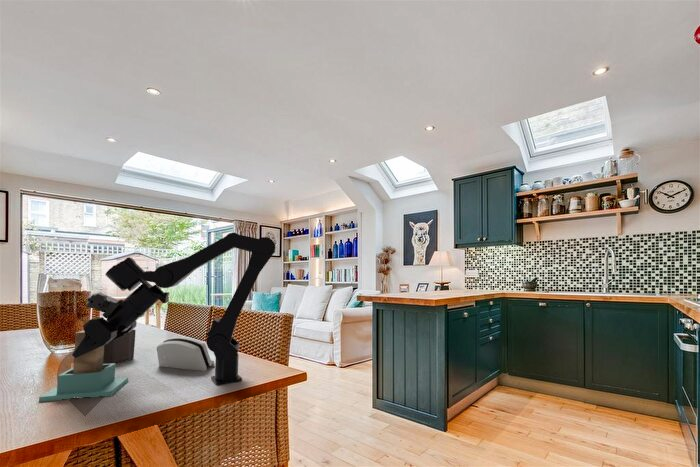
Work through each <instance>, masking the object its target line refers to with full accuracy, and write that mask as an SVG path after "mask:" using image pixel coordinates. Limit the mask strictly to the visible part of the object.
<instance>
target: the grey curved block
mask: <svg viewBox="0 0 700 467" xmlns="http://www.w3.org/2000/svg"><path fill="white" fill-rule="evenodd" d="M156 353H157V360H158V361H157V362H158V367H163V368H164V367H165V368H173V369H182V370H192V371H201V372H202V371H203V372H204V371H207V370H208V367H211V368H214V367H215V361H214V360H212V359H211V357H210V355H209V351H208V347H207V344H206V343H205V342H203V341H201V340H198V339H196V338H192V337H187V336H175V337H170V338H167V339H165V340H164V341H163V342H161V343H159V344H158V345H157V347H156Z"/></svg>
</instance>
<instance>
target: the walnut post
mask: <svg viewBox="0 0 700 467" xmlns="http://www.w3.org/2000/svg"><path fill="white" fill-rule="evenodd" d="M84 337H85V331H84V330H83V329H82V330H81V331H77V332H75V338H74V341H75V342H74V351H75V350H76V348H77V347H78V345H79V344H80V343H81V341H82V340H83V338H84ZM74 351H73V352H74ZM103 357H104V345H103V346H101V347H99V348H97V349H95V350H92V351H90V352H88V353H86V354H83V355H81V356H79V357H77V358H75V357H73V365H72V366H73V367H72V368H73V374H77V373H92V372H100V371H101V370H103Z"/></svg>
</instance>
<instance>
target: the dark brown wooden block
mask: <svg viewBox="0 0 700 467" xmlns="http://www.w3.org/2000/svg"><path fill="white" fill-rule="evenodd" d="M127 330H128V329H127ZM127 330H126V331H127ZM135 342H136V329H133V330H132V331H131V332H129V333H127V334H125V335H123V336H121V337H119V338H117V339H115V340H112V341H110V342H109V343H107V344H105V345H104V357H103V364H112V363H116V364H120V363H121V364H122V363H125V362H128V361H131V360H133V359H134V357H135V346H136V345H135V344H136V343H135ZM116 364H115V365H116Z"/></svg>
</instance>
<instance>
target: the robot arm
mask: <svg viewBox="0 0 700 467" xmlns="http://www.w3.org/2000/svg"><path fill="white" fill-rule="evenodd" d="M233 249H239V250H242V251H245V252H249V253H251V255H250V257H249V261H248V265H247V267H246V269H245V271H244V274H243V276H242V278H241V280H240V281H239V284H238V286H237V287H236V290H235V291H234V294H233V296H232V298H231V300H230V302H229V304H228V306H227V308H226V310H225V312H224V314H223V315H222V316H221V318H219V317H215V318H214V319H213V320H212V324H211V326H210V329H209V330H208V331H207V332H206V334H205V336H207V337H206V343H205V344H206V347H207V349H209V350H210V351H211V352H213V354H214V358H215V361H214V364H215V369H214V375H211V376H210V379H211V380H212V381H213V383H214V384H215V385H222V384H228V383H234V382H239V381H243V378H242V377H241V376H240V375H239V354H238V353H239V350H240V342H238V341H237V340H236V339H235V338H234V337H233V335H234V332H235V327H236V325H237V321H238V318H239V316H240V313H241V312H242V310H243V307H244V306H245V304H246V301H247V300H248V297H249V295H250V293H251V291H252V289H253V287H254V286H255V283H256V281H257V279H258V276H259V275H260V273H261V272H262V270H263V268H265V266H266V265H267V263H268V262H269V261H270V259H271V258H272V257H273V255H274V254H275V252H276V244H275V241H273V239H272V238H270V237H266V236H262V237H259V238H256V237H253V236H247V235H243V234H239V233H237V232H229V233H228V234H226V235H225V236H224V237H222V238H220V239H218V240H217V241H215V242H213V243H210V244H209V245H207V246H206V247H204V248H202V249H200V250H198V251H196V252H194V253H193V254H191V255H188V257H185V258H182V259H178V260H175V261H172V262H169V263H166V264H163V265H161V266H159V267H157V268H156V269H155V270H144V269H143V268H142V267H141V266H140V265H138V263H137V262H136V261H135V260H134V258H133V257H129V256H128V257H126V259H124V260H122V261H120V262H118V263H117V264H114V265H112V267H110V268H109V269H108V270H107V271H106V273H105V277H107V278H108V280H110V281H111V282H112V283H113V284H114V285H115V286H116V287H118V288H119V289H120V290H121V291H122V292H125V291H126V290H128V292H131V291H132V292H131V293H130V294H129V295H128V296H126V298H124V299H116V298H114V297H112V296H109V295H108V294H104V293H101V292H96V293H95V292H94V293H92V294H91V296H90V297H88V298H87V299H86V301H87V304H86V305H85V306H86V307H87V308H89V309H94V310H97V311H99V312H102V314H101V315H102V316H101V317H94V318H91V319H89V320H88V321H86V322H85V323H84V324H83V325H82V327H83V328H82V330H84V331H85V337H84V338H83V340H82V341H81V343H80V344H79V345H78V347H77V348H76V350H75V349H74V350H75V351H73V352H72V357H73V358H74V357H75V358H77V357H79V356H81V355H83V354H86V353H88V352H90V351H92V350H95V349H97V348H99V347H101V346H103V345H105V344H107V343H109V342H110V341H112V340H115V339H117V338H119V337H121V336H123V335H125V334H127V333H129V332H131V331H132V330H135V328H137V321H138V319H140V318H142V317H143V316H144V315H145V314H146V312H148V310H149V309H151V308H152V307H153V306H154V305H155V304H156V303H157V302H158V301H160V302H161V303H162V304H167V303H168V302H169V301H170V300H169V299H170V298H169V296H170V292H169V291H166V292H164V291H163V290H162V289H169V288H173V287H176V286H178V285H179V284H180V283H182V282H183V281H184V280H185V279H187V277H189V276H190V275H191V274H192V273H193V272H194V271H196V270H197V269H199V268H200V267H203V266H204V265H206V264H208V263H209V262H212V261H213V260H216V259H217V258H219V257H221V256H223V255H224V254H226V253H227V252H230V251H232V250H233ZM151 283H153V284H154V285H152V284H151ZM134 289H135V290H134ZM127 329H128V330H127ZM126 330H127V331H126Z"/></svg>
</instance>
